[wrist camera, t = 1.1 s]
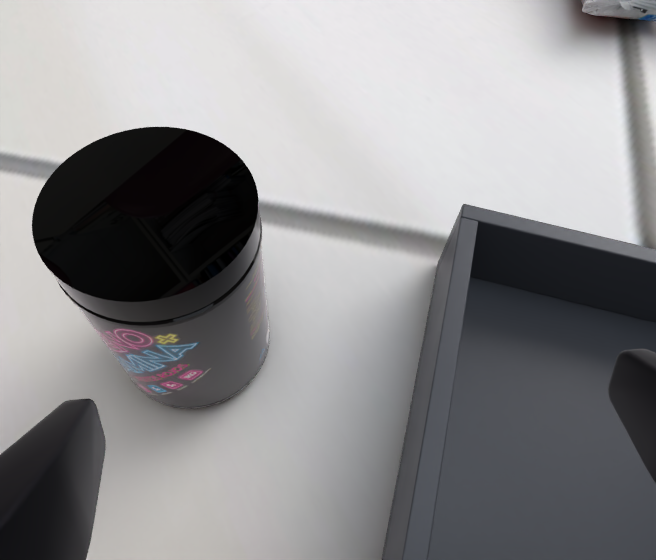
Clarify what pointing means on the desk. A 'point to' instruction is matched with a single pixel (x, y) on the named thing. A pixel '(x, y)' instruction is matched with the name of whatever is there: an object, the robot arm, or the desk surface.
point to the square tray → (526, 400)
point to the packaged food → (622, 8)
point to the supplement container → (162, 259)
